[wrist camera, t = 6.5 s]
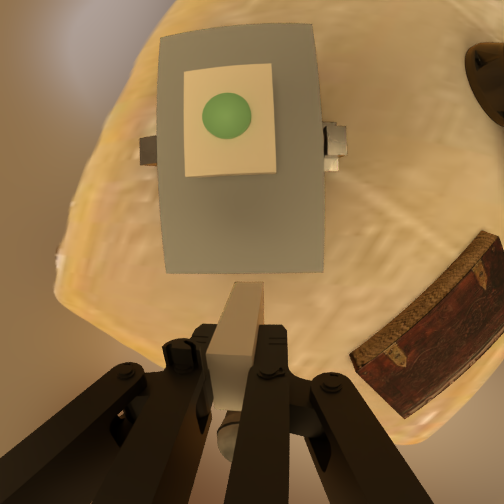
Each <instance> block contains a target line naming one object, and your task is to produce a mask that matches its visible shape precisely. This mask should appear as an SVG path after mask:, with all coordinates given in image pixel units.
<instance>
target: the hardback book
mask: <svg viewBox="0 0 504 504" xmlns="http://www.w3.org/2000/svg"><path fill="white" fill-rule="evenodd" d="M503 333H504V250H503V247H502V244H501V241H500V238H499V236H496V235H493V234H490V233H487V232H485V231H481V232H480V233H479V234H478V235H477V237H476V238H475V239H474V240H473V241H472V242H471V244H470V245H469V246H468V247H467V248H466V249H465V250H464V251H463V253H462V254H461V255H460V256H459V257H458V258H457V259H456V260H455V261H454V262H453V263H452V264H451V266H450V267H449V268H448V269H447V270H446V271H445V272H444V273H443V274H442V275H441V276H440V277H439V278H438V279H437V280H436V281H435V282H434V283H433V284H432V285H431V286H430V287H429V288H428V289H427V290H426V291H424V292H423V293H422V294H421V295H420V296H419V297H418V298H417V299H416V300H415V301H414V302H413V303H412V304H410V305H409V306H408V307H407V308H406V309H405V310H404V311H403V312H401V313H400V314H399V315H398V316H397V317H396V318H394V319H393V320H392V321H391V322H390V323H388V324H387V325H386V326H385V327H384V328H382V329H381V330H380V331H379V332H377V333H376V334H375V335H374V336H372V337H371V338H370V339H369V340H367V341H366V342H365V343H364V344H362V345H361V346H360V347H358V348H357V349H356V350H354V351H353V352H352V353H350V354H349V355H350V358H351V360H352V363H353V366H354V369H355V371H356V373H357V374H358V375H359V376H360V377H361V378H362V379H363V380H364V381H365V382H366V383H367V384H369V385H370V386H371V387H372V388H373V389H374V390H375V391H376V392H377V393H378V394H379V395H380V396H381V397H382V398H383V399H384V400H385V401H386V402H387V403H388V404H389V405H390V406H391V407H392V408H393V409H394V410H395V411H396V412H397V413H398V414H399V415H401V416H402V417H403V418H404V419H406V418H407V417H409V416H410V415H412V414H413V413H415V412H416V411H417V410H419V409H420V408H422V407H423V406H424V405H426V404H427V403H428V402H430V401H431V400H432V399H433V398H435V397H436V396H437V395H439V394H440V393H441V392H442V391H444V390H445V389H446V388H447V387H448V386H450V385H451V384H452V383H453V382H454V381H455V380H457V379H458V378H459V377H460V376H461V375H462V374H463V373H464V372H466V371H467V370H468V369H469V368H470V367H471V366H472V365H473V364H474V363H475V362H476V361H477V360H478V359H479V358H480V357H481V356H482V355H483V354H484V353H485V352H486V351H487V350H488V349H489V348H490V347H491V346H492V345H493V344H494V343H495V342H496V341H497V339H498V338H499V337H500V336H501V335H502V334H503Z"/></svg>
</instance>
